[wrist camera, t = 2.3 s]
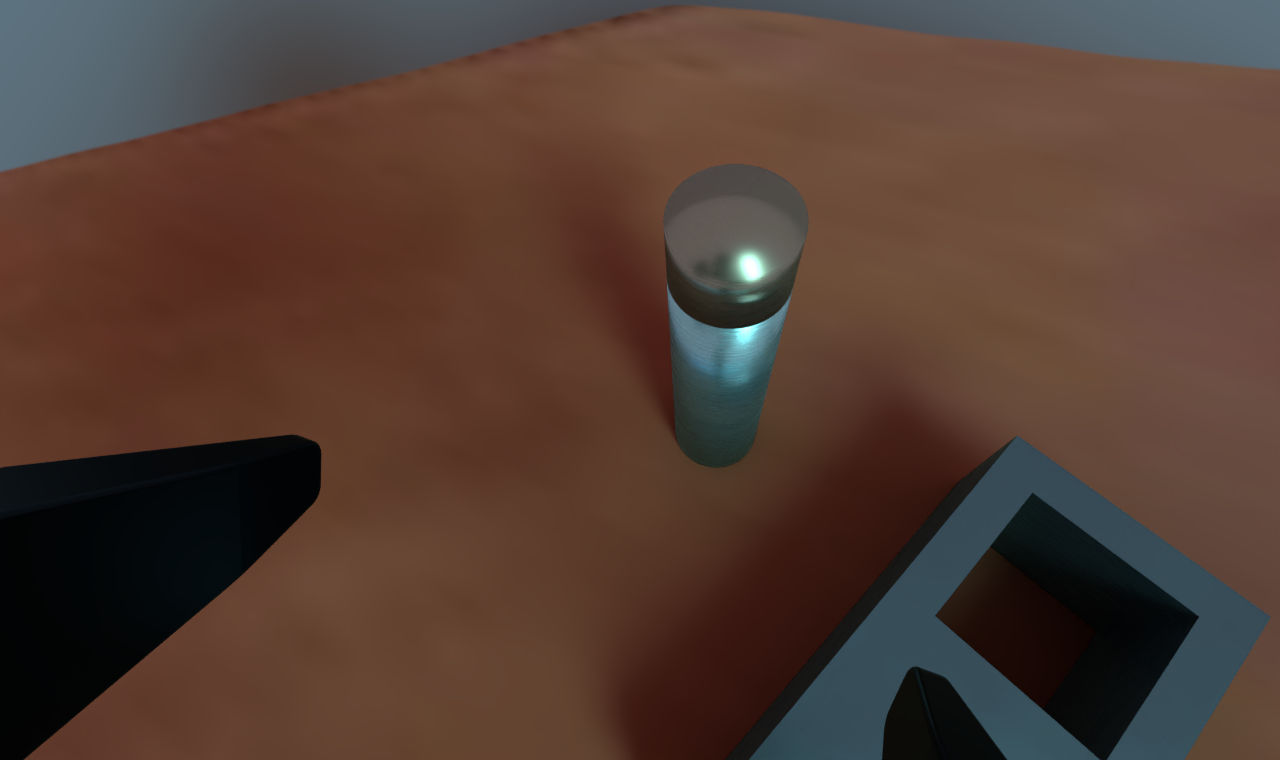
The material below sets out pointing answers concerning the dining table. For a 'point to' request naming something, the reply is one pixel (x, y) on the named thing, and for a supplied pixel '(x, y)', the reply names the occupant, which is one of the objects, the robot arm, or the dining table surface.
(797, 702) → the bar
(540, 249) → the dining table surface
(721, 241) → the steel pin
